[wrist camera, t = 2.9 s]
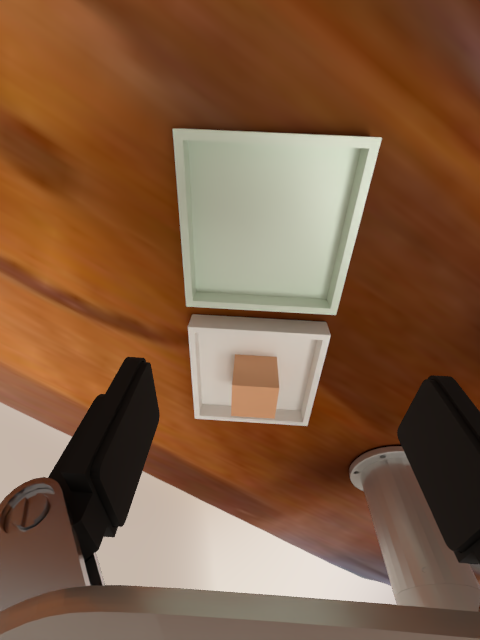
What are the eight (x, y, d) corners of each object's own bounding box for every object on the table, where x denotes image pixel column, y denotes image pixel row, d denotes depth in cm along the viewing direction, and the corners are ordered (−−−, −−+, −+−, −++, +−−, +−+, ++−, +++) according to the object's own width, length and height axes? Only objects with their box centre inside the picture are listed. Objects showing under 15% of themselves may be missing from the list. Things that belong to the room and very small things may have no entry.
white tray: (326, 321, 33) (330, 335, 31) (304, 410, 41) (307, 426, 39) (192, 314, 33) (187, 326, 31) (198, 403, 41) (194, 418, 39)
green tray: (370, 136, 23) (382, 137, 21) (330, 302, 31) (336, 315, 29) (180, 128, 23) (172, 128, 21) (190, 294, 32) (186, 306, 29)
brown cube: (276, 356, 35) (279, 388, 31) (272, 386, 38) (274, 418, 34) (234, 354, 35) (231, 385, 31) (234, 384, 38) (231, 415, 34)
